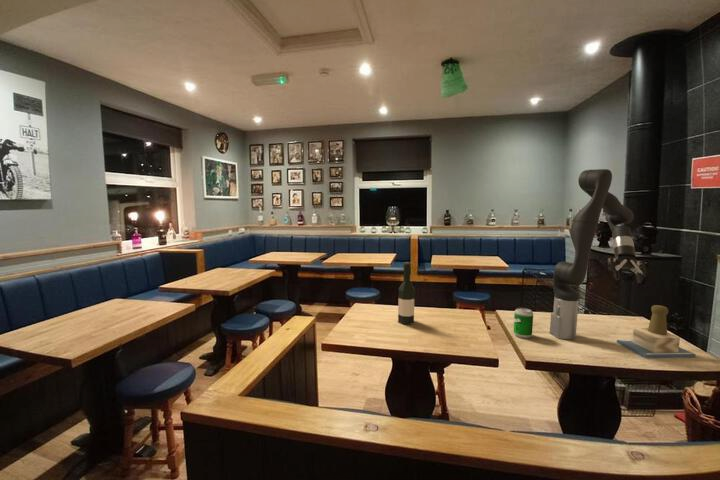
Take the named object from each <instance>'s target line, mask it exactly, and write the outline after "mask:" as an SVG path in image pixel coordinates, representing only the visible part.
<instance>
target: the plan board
mask: <svg viewBox="0 0 720 480" xmlns="http://www.w3.org/2000/svg"><path fill="white" fill-rule="evenodd" d="M616 344H618V345H621V346H622V347H624V348H625V349H627V350H630V351H631V352H632V353H633V352H634V353H635V354H637V355H639V356H641V357H642V358H643V359H644V358H645V359H662V358H663V359H665V358H667V359H669V358H671V359H672V358H673V359H675V358H696V353H694V352H691V351H689V350H687V349H684V348H682V347H680V346H679V350H678V352H659V353H653V352H651V351H649V350H647V349H645V348H643V347H641V346H640V345H638V344H636V343H634V342H632V339H616Z"/></svg>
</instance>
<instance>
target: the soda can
mask: <svg viewBox="0 0 720 480" xmlns="http://www.w3.org/2000/svg"><path fill="white" fill-rule="evenodd" d="M513 314H514V318H513V331H512V333H513V334H514V335H515V337H517V338H520V339H521V338H522V339H530V337H532V336H533V329H534V328H533V327H534V312H533V311H532V310H531V309H529V308H525V307H517V308H516V309H515V310H514V313H513Z"/></svg>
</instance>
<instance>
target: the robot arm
mask: <svg viewBox="0 0 720 480" xmlns="http://www.w3.org/2000/svg"><path fill="white" fill-rule="evenodd" d="M577 181H578V186H579V188H580V190H582V191H583V192H584V193H585V194H587V195H588V196H589V197H591V198H590V200H589V201H588V202H587V203H586V204H585V205H584V206H583V207H582V208H581V209H580V210H579V211H578V212H577V213H576V214H575V215H574V217H573V219H572V223H571V225H570V226H571V227H570V228H569V229H570V230H569V234H570V235H569V236H570V239H571V241H572V244H573V247H574V260H573V262H568V261H560V262H557V263H556V265H555V267H554V269H553V277H552V278H553V283H552V284H553V286H552V287H553V293H554V297H553V298H554V299H553V300H554V301H553V311H552V312H551V313H550V323H549V334H551V335H552V336H554V337H556V338H557V339H562V340H563V339H564V340H574V339H576V337H577V324H578V314H579V302H580V294H579V292H577V291H576V290H575V289H573V287H571V285H572V286H577V287H578V286H580V285H582V284H583V283H584V282H585V278H586V276H587V270H588V267H589V265H588V264H589V261H590V260H589V259H590V256H591V255H590V253H591V250H592V246H593V241H594V238H595V235H596V232H597V228H598V226H599V222H600V221H599V220H600V217H601V213H602V210H603V212H604V213H605V214H606V215H605V220H606V223H607V224H608V226H609V228H610V231H611V233H612V241H613V242H612V244H613V245H612V247H613V253H614V257H613V256H610V257H609V258H607V271H611V272H612V273H613V278H614V279H615V280H616V281H620V280H621V274H620V271H619V270H620V269H622V270H630V271H631V272H632V273H634V274H635V278H636V283H637V284H640V283H642V282H644V278H643V275H646V273H648V271H647V267H646V263H645V260H637V259H636V250H635V249H636V248H635V245H634V243H635V242H634V240H633V235H632V230H631V227H629V226H627V225H624V224H629V223H631V222H632V221H633V220H634V218H635V217H634V213H633V211H632V210H631V209H630V208H629V207H627V206H626V205H624V204H622V203H621V201H620V200H619V199H618V197H617V196H615V194H613V193H611V192H610V191H609V190H610V188H611V185H612V181H613V173H612V170H610V169H607V168H604V169H603V168H601V169H600V168H599V169H598V168H597V169H587V170H586V169H585V170H583V171H581V172H580V174H579V176H578V180H577ZM614 263H616V264H617V265H615V264H614Z"/></svg>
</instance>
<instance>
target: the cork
mask: <svg viewBox="0 0 720 480" xmlns="http://www.w3.org/2000/svg"><path fill="white" fill-rule="evenodd" d="M650 310H651V318H650V321H649V324H648V327H647V328H648V331H649V332H651V333H654V334H659V335H667V332H668V325H667V324H668V323H667V315H668V314H669V308H668V307H666V306H664V305H660V304H659V305H658V304H654V305H652V306H651V309H650Z"/></svg>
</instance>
